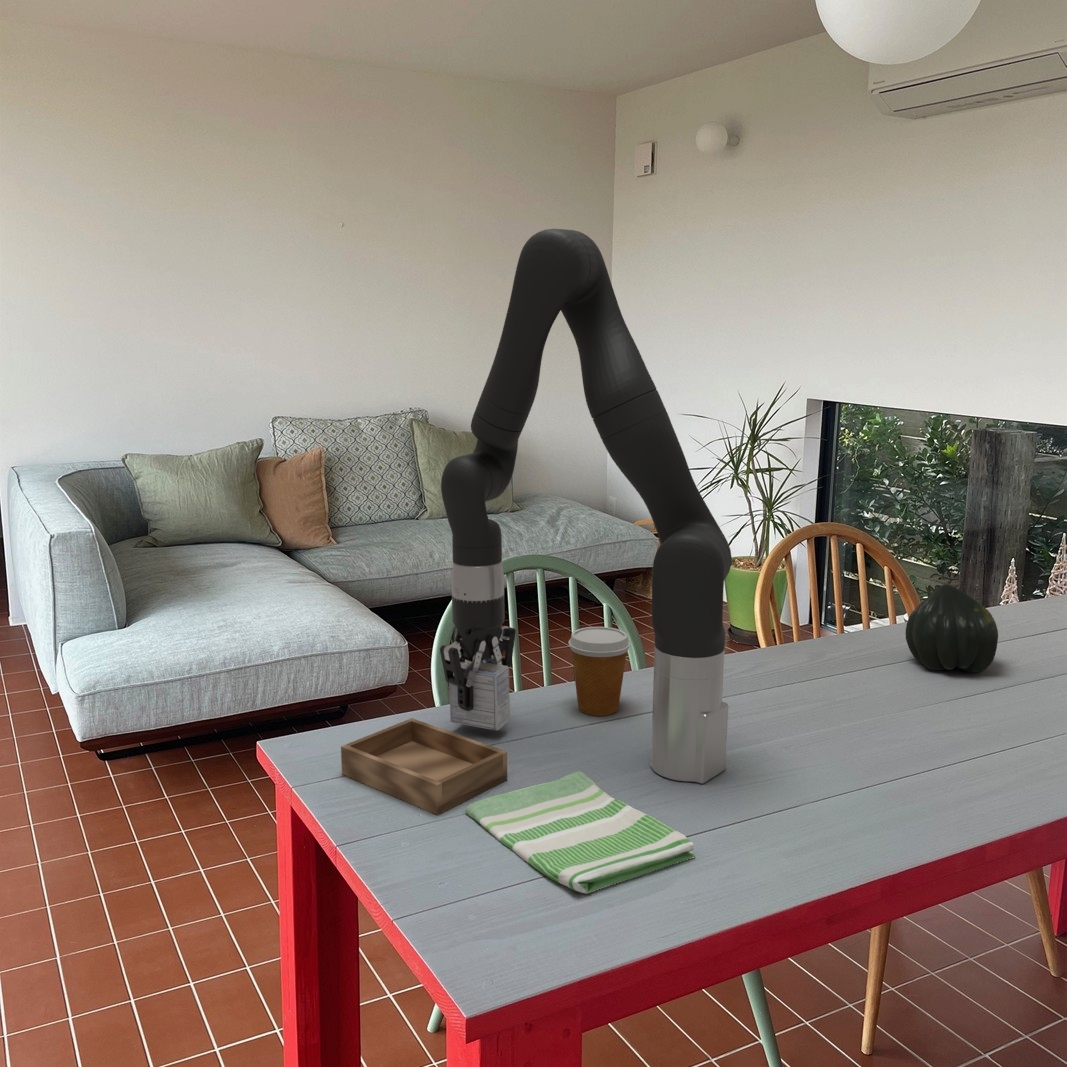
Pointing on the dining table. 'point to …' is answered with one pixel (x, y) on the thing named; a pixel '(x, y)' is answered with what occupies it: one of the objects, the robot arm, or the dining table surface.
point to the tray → (424, 765)
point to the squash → (952, 632)
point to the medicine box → (484, 698)
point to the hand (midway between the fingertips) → (480, 703)
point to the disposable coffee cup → (598, 668)
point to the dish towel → (580, 833)
